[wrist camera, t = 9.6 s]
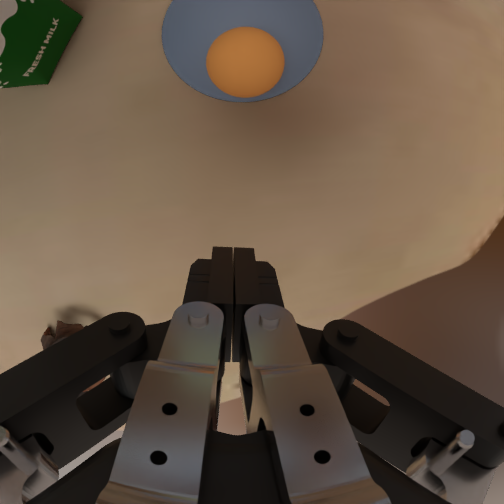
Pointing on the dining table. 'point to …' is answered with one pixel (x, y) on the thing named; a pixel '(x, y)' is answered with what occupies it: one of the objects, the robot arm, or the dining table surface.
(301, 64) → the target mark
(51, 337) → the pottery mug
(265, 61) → the ball
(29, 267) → the dining table surface
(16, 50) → the milk carton
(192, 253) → the dining table surface
